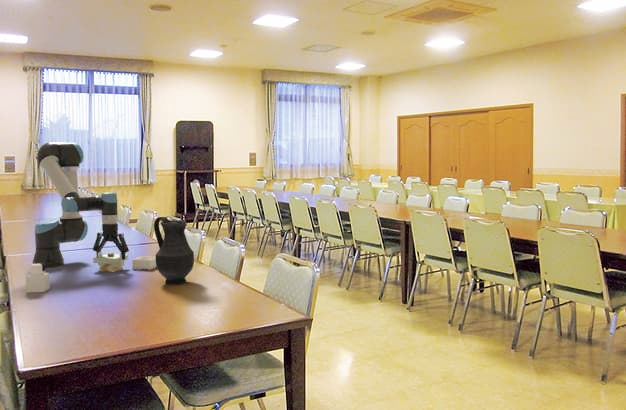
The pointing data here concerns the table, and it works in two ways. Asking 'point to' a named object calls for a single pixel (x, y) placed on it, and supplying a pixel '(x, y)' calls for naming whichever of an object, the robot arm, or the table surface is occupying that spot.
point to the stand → (110, 267)
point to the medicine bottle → (37, 278)
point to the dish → (144, 262)
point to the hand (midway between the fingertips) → (111, 265)
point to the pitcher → (173, 251)
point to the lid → (109, 258)
